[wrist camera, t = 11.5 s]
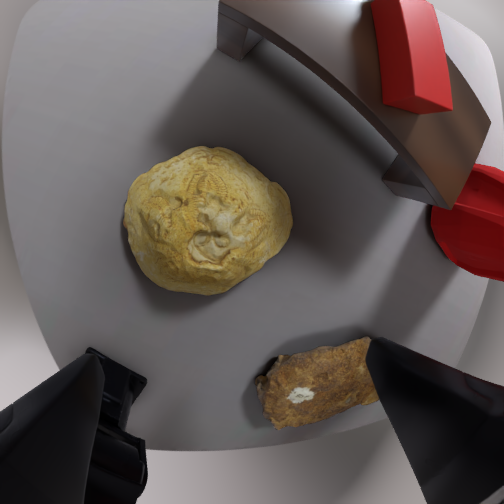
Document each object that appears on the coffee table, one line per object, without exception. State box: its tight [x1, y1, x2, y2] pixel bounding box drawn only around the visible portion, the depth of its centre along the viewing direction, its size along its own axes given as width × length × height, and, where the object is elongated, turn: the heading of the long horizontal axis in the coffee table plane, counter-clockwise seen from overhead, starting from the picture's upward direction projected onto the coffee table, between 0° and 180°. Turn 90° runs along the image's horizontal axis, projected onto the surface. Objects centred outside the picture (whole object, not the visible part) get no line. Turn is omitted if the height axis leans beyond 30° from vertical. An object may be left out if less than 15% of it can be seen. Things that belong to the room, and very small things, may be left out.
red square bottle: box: [371, 0, 453, 115], centre depth 9 cm, size 8×3×3 cm, turn 0°
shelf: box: [217, 0, 491, 210], centre depth 14 cm, size 9×18×7 cm, turn 54°
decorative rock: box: [255, 336, 380, 430], centre depth 23 cm, size 11×4×15 cm
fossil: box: [123, 146, 293, 296], centre depth 17 cm, size 11×6×10 cm
